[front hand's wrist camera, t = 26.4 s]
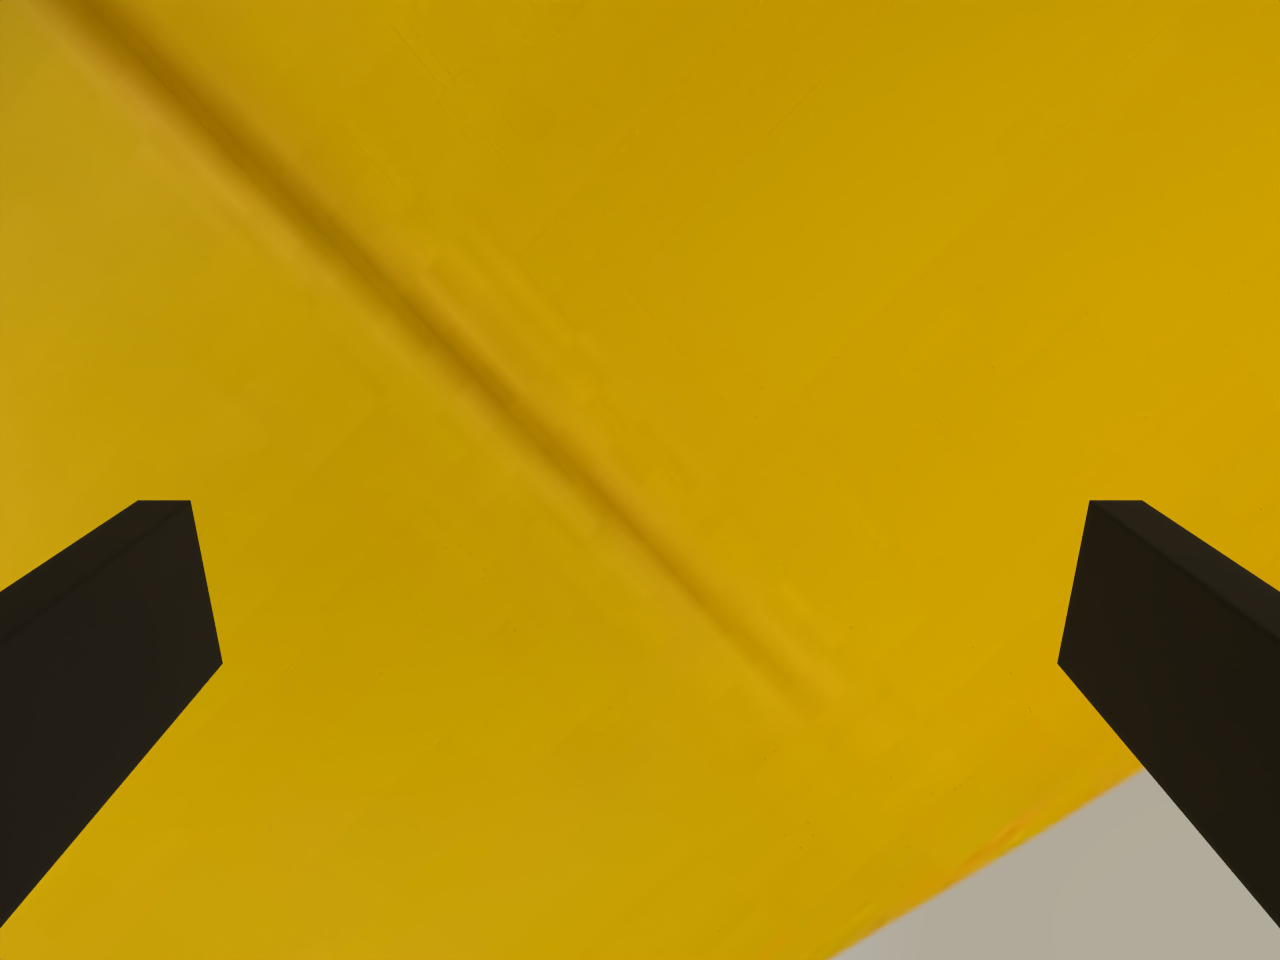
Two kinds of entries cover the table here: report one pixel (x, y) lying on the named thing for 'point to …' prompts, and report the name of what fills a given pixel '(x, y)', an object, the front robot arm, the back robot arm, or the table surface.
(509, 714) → the table surface
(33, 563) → the table surface
